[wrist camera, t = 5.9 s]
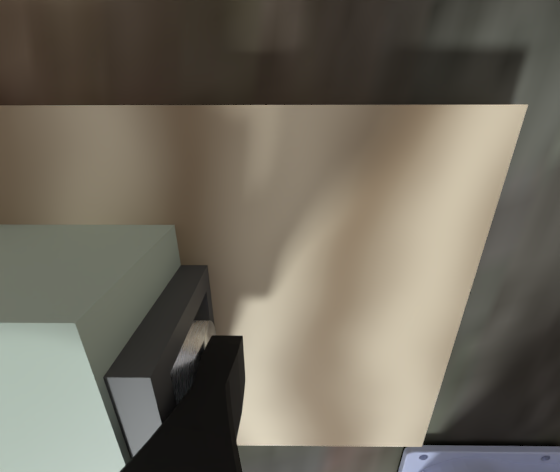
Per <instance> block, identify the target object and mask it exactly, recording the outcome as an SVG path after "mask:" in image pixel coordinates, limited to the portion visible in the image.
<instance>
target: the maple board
mask: <svg viewBox="0 0 560 472" xmlns="http://www.w3.org/2000/svg"><path fill="white" fill-rule="evenodd" d="M527 107H528V105H0V224H1V225H175V231H176V238H177V244H178V250H179V257H180V263H181V265H208V273H209V282H210V290H211V299H212V308H213V316H214V325H215V330H216V335H231V336H243V348H244V363H245V379H246V380H245V390H244V399H243V408H242V415H241V420H240V425H239V430H238V435H237V440H236V441H237V445H261V446H375V447H422V445H423V442H424V438H425V435H426V432H427V429H428V425H429V422H430V419H431V416H432V413H433V409H434V406H435V403H436V400H437V397H438V393H439V390H440V387H441V384H442V380H443V377H444V374H445V371H446V368H447V364H448V361H449V358H450V355H451V351H452V348H453V345H454V342H455V339H456V335H457V332H458V329H459V326H460V322H461V319H462V316H463V313H464V310H465V306H466V303H467V300H468V297H469V293H470V290H471V287H472V284H473V281H474V277H475V274H476V271H477V268H478V264H479V261H480V258H481V255H482V252H483V248H484V245H485V242H486V239H487V235H488V232H489V229H490V226H491V223H492V219H493V216H494V213H495V210H496V206H497V203H498V200H499V197H500V194H501V190H502V187H503V184H504V181H505V178H506V174H507V171H508V168H509V165H510V161H511V158H512V155H513V152H514V149H515V145H516V142H517V139H518V136H519V132H520V129H521V126H522V123H523V120H524V116H525V113H526V110H527Z"/></svg>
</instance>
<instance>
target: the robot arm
mask: <svg viewBox="0 0 560 472" xmlns="http://www.w3.org/2000/svg"><path fill="white" fill-rule="evenodd" d="M245 380H246V379H245V363H244V348H243V336H231V335H212V336H211V338H210V340H209V342H208V343H207V345H206V347H205V349H204V352H203V354H202V357H201V361H200V364H199V367H198V371H197V374H196V378H195V381H194V382H193V384H192V385H191V387H190V388H189V389H188V391H187V392H186V394H185V395H184V396H183V397H182V399H181V400H180V401H179V403H178V404H177V405H176V407H175V408H174V409H173V410H172V412H171V413H170V414H169V416H168V417H167V418H166V419H165V421H164V422H163V423H162V424H161V426H160V427H159V428H158V429H157V430H156V432H155V433H154V434H153V435H152V436H151V437H150V439H149V440H148V441H147V442H146V443H145V444H144V445H143V447H142V448H141V449H140V450H139V451H138V452H137V453H136V454H135V456H134V457H133V458H132V459H131V460H130V461H129V462H128V463H127V464H126V465H125V466H124V467H123V468H122V469H121V471H120V472H242V468H241V463H240V458H239V453H238V447H237V441H236V440H237V435H238V430H239V425H240V420H241V415H242V408H243V399H244V390H245ZM398 472H560V446H471V445H422V447H406V448H405V450H404V452H403V456H402V459H401V463H400V467H399V470H398Z"/></svg>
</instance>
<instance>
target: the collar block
mask: <svg viewBox="0 0 560 472" xmlns="http://www.w3.org/2000/svg"><path fill="white" fill-rule="evenodd" d="M193 320H195V321H212V322H213V324H214V316H213V308H212V299H211V290H210V282H209V273H208V265H181V263H180V257H179V250H178V244H177V238H176V231H175V225H1V224H0V472H120V471H121V469H122V468H123V467H124V466H125V465H126V464H127V463H128V462H129V461H130V460H131V459H132V458H133V457H134V456H135V454H136V453H137V452H138V451H139V450H140V449H141V448H142V447H143V445H144V444H145V443H146V442H147V441H148V440H149V439H150V437H151V436H152V435H153V434H154V433H155V432H156V430H157V429H158V428H159V427H160V426H161V424H162V423H163V422H164V421H165V419H166V418H167V417H168V416H169V414H170V413H171V412H172V410H173V409H174V408H175V407H176V405H177V404H176V399H175V395H174V390H173V385H172V380H171V376H170V373H171V370H172V368H173V366H174V364H175V361H176V359H177V357H178V354H179V352H180V350H181V348H182V345H183V343H184V341H185V339H186V336H187V334H188V332H189V330H190V327H191V325H192V323H193ZM214 326H215V325H214Z"/></svg>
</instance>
